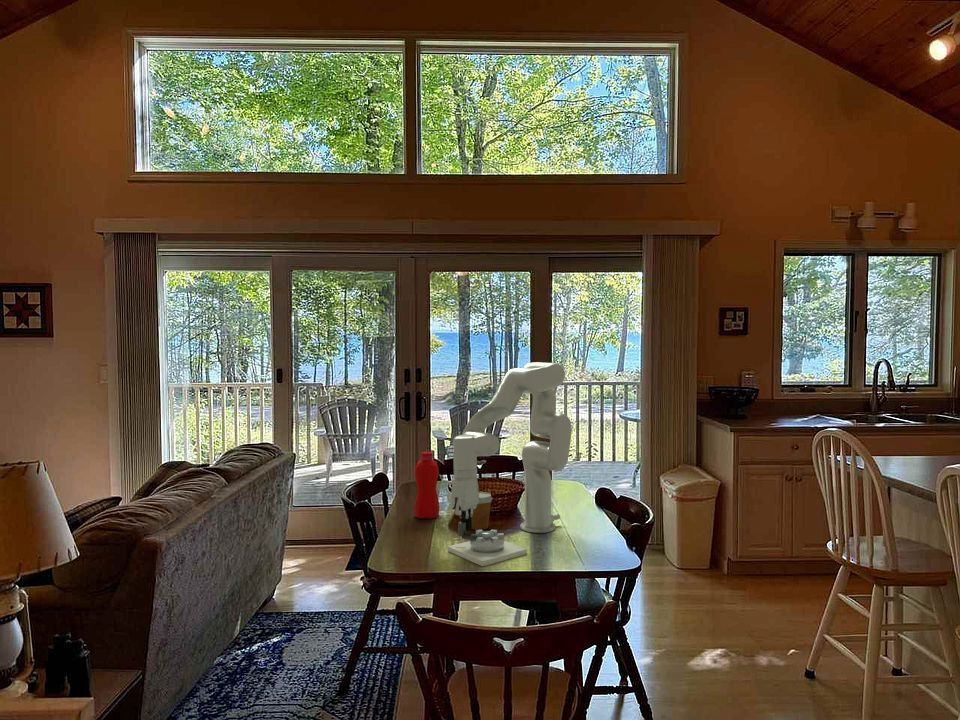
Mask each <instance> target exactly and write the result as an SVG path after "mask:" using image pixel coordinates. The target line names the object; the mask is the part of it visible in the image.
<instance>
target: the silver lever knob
mask: <svg viewBox="0 0 960 720" xmlns="http://www.w3.org/2000/svg"><path fill="white" fill-rule="evenodd" d="M457 527H458V528H457V535H458V536H460V537H461V539H462V540H469V541H470V549H471V550H473V551H476V552H481V553H493V552H498V551H501V550H503V549H504V541H505V533H504V532H500V533H499V532H498V529H491V530H481V529H480V530H475V533H467V530H466V522H461V521H458V524H457Z"/></svg>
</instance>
